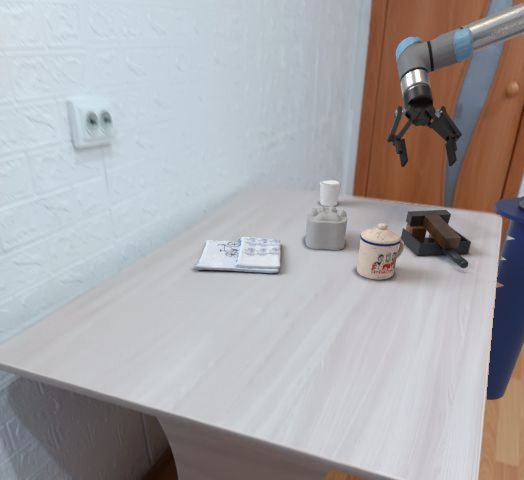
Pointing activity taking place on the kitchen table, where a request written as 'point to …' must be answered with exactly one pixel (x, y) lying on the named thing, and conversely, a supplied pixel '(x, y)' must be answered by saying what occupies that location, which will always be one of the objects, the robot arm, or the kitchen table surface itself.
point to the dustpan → (437, 248)
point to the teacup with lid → (379, 252)
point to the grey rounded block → (326, 228)
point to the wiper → (435, 226)
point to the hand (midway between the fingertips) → (429, 163)
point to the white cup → (329, 192)
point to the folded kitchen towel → (241, 255)
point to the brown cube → (417, 232)
